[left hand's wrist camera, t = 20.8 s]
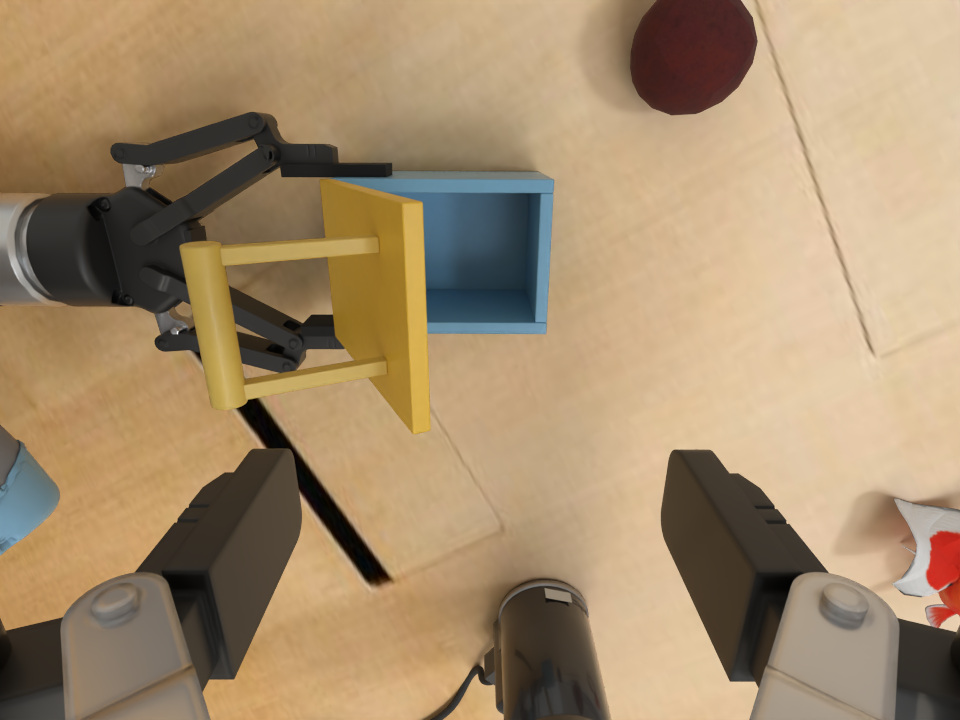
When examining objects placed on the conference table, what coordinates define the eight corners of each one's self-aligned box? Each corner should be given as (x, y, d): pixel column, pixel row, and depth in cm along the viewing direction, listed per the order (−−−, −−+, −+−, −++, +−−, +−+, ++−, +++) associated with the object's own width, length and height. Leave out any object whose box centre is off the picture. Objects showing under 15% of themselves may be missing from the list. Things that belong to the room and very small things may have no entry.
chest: (538, 171, 41) (554, 179, 33) (533, 296, 45) (546, 334, 36) (361, 170, 41) (328, 178, 33) (370, 295, 45) (343, 333, 36)
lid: (423, 201, 20) (168, 213, 17) (431, 431, 24) (222, 481, 20) (333, 179, 32) (173, 183, 29) (348, 334, 36) (207, 355, 32)
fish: (894, 659, 54) (1002, 705, 44) (820, 510, 55) (910, 523, 45) (973, 607, 56) (1094, 641, 46) (900, 466, 57) (1002, 469, 48)
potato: (664, -27, 36) (704, -64, 30) (749, 46, 38) (805, 26, 32) (596, 76, 39) (620, 62, 32) (679, 140, 40) (717, 140, 34)
